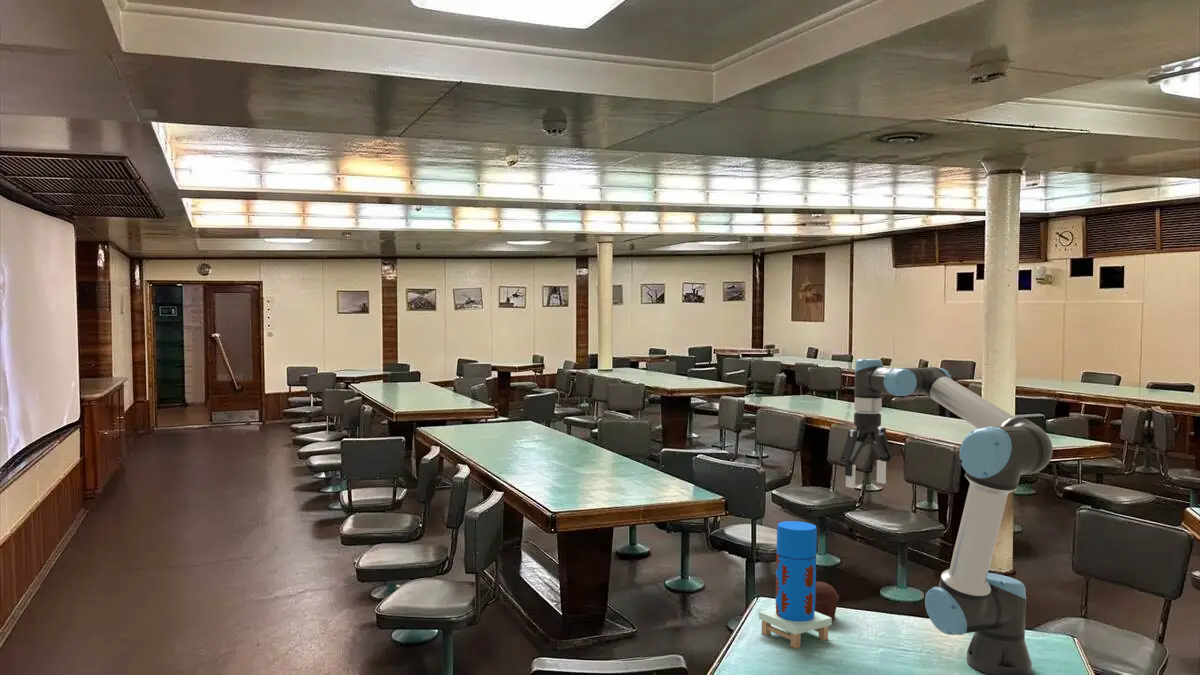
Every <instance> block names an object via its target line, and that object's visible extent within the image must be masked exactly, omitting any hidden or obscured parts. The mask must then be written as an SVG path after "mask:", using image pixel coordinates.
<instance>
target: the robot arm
mask: <svg viewBox="0 0 1200 675" xmlns="http://www.w3.org/2000/svg"><path fill="white" fill-rule="evenodd" d="M853 375H854V407H853V408H854V409H853V410H854V411H855V412H854V414H853V424H854V425H855V426H856V429H848V431H847V438H846V441H845V443H844V445H843V446H844V447H843V450H842V453H841V455H840V458H839V462H840V463H841V464H843V465H844V468H845V469H844V475H845V487H846V488H850V489H856V464H855V463H856V460H857V458H858V457H859V454H860V453H861V452H862V449H863V448H864V447H866V446H868V445H870V446H871V447H872V448H873V450H874V452H875V454H876V456H877V458H878V459H879V460H878V459H877V460H876V483H879V484H884V485H885V484H886V483H887V470H888V469H887V468H888V462H890V461H891V459H892V458H893V454H892V451H891V447H890V444H889V440H888V438H887V430H886V427H881V425H882V414H881V412H882V411H883V410H882V402H883V401H882V399H883V398H882V397H883V396H882V394H886V395H891V396H895V397H906V396H910V395H925V396H926V397H928V398H929V399H931V400H932V401H933V402H936V403H938V405H939V404H940V405H941V406H942V407H943V408H945V409H947V410H949V412H951V413H953V414H954V415H956V416H957V417H959V418H961V419H962V420H964V421H965V422H967V423H969V424H970V425H972V426H973V427H974V428H976V429H974V430H972V431H970V432H969V433H968V434H967V435H966V436H965V437H964V439H963V440H962V442H961V445H960V447H959V460H960V461H961V462H960V463H961V466H962V468H963V469H964V471H965V473H964V477H965V478H966V479H967V481H968V482H969V486H968V490H967V494H966V498H965V502H964V507H963V512H962V515H961V519H960V524H959V528H958V532H957V536H956V540H955V544H954V549H953V552H952V556H951V557H952V558H951V562H950V567H949V568H947V569H946V570H944V571H942V572H941V575H940V578H939V583H938V586H933V587H931V589H930V588H929V590H928V591H927V592H926V593H925V598H924V605H925V610H926V614H927V616H928V617H929V620H930V622H931V623H932V625H933V626H934V627H935V628H936V629H937V630H938V631H940V632H941V633H943V634H945V635H948V636H955V635H958V636H963V635H965V634H971V633H973V635H972V638H971V640H970V642H969V645H968V648H967V649H966V650H967V651H966V663H967V665H969V666H970V667H971V668H973V669H975V670H977V671H979V672H982V673H984V674H987V675H1031V674H1032V670H1033V669H1032V668H1033V666H1032V665H1033V662H1032V660H1031V658H1030V657H1031V656H1030V653H1029V651H1028V646H1027V644H1026V641H1025V640H1026V638H1025V637H1026V634H1025V633H1026V612H1027V611H1026V610H1027V608H1026V606H1027V593H1026V592H1027V590H1026V589H1027V588H1026V586H1025V584H1024V583H1023V582H1022V581H1020V580H1018V579H1016V578H1013V577H1011V576H1006V575H1003V574H999V573H993V572H989V570H990V567H991V564H992V563H991V562H992V559H993V555H994V551H995V547H996V544H997V539H998V536H999V532H1000V528H1001V524H1002V519H1003V515H1004V511H1005V508H1006V505H1007V504H1006V503H1007V499H1008V496H1009V494H1010V493H1013V492H1015V491H1016V490H1018V486H1019V482H1020V477H1021V476H1022V475H1031V474H1036V473H1039V472H1040V471H1042V470H1044V468H1046V467H1047V465H1048V464H1049V463H1050V462H1051V459H1052V457H1053V452H1054V450H1053V443H1052V440H1051V438H1050V436H1049V435H1048V433H1047V432H1046V431H1045V430H1044V429H1042V427H1040V426H1039V425H1037V424H1035V423H1034V422H1033V421H1031V420H1028V419H1027V418H1025V417H1024V416H1015V415H1012V413H1009V412H1007V411H1005V410H1004V409H1003V408H1000V406H999V407H998V406H997V405H996V404H994V403H992V402H990V401H989V400H987V399H985V398H983V397H982V396H980V395H978V394H977V393H975V392H974V391H972V390H970V389H968V388H967V387H965V386H964V385H962V384H960V383H958V382H956V381H955V380H953V379H952V375H951V374H950V372H949V370H947V369H945V368H942V367H936V366H934V367H933V366H930V367H884V366H883V361H882V359H879V358H878V359H876V358H858V359H857V360H856V361H855V368H854V374H853Z"/></svg>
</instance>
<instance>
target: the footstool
mask: <svg viewBox="0 0 1200 675" xmlns="http://www.w3.org/2000/svg"><path fill="white" fill-rule="evenodd" d="M758 619H759V620H760V621H761V634H762V635H764V636H769V635H772V633H775V634H776V635H778V636H781V637H783V638H785V639H788V640H790V647H791V648H794V649H798V648H801V634H804V633H808V632H811V631H815V632H817V633H818V639H819V640H822V641H826V640H828V639H829V626H832V623H833V621H832V618H831V617H828V616H826V615H823V614H821V613H818V612H816V611H815V613H814V618H813V619H812V620H809V621H791V620H786V619H783V618H781V617H779V616H778V615H777V614H776V607H773V608H769V609H765V610H761V611H758ZM776 627H777V628H776ZM779 628H780V629H779ZM788 632H789V633H788Z"/></svg>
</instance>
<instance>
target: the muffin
mask: <svg viewBox="0 0 1200 675" xmlns="http://www.w3.org/2000/svg"><path fill="white" fill-rule="evenodd" d="M839 600H840V595H839V593H838V592H837V591H836V589H835V588H834V587H833V586H832V585H830V584H829V583H827V582H824V581H817V580H816V594H815V611H816V612H818V613H821V614H823V615H826V616H828V617H831V618H832V620H833V621H835V617H836V612H837V605H838V601H839Z"/></svg>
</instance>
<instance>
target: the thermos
mask: <svg viewBox="0 0 1200 675" xmlns="http://www.w3.org/2000/svg"><path fill="white" fill-rule="evenodd" d="M817 532H818V531H817V526H816V525H815V524H814V523H809V522H804V521H796V520H795V521H794V520H788V521H786V520H785V521H781V522H778V523H777V529H776V555H775V556H776V560H775V562H776V563H775V564H776V565H775V566H776V568H775V608H776V614H777V615H778V616H779V617H781V618H783V619H786V620H791V621H809V620H812V619H813V618H814V613H815V594H816V582H817V541H818V540H817V539H818V534H817Z"/></svg>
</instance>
